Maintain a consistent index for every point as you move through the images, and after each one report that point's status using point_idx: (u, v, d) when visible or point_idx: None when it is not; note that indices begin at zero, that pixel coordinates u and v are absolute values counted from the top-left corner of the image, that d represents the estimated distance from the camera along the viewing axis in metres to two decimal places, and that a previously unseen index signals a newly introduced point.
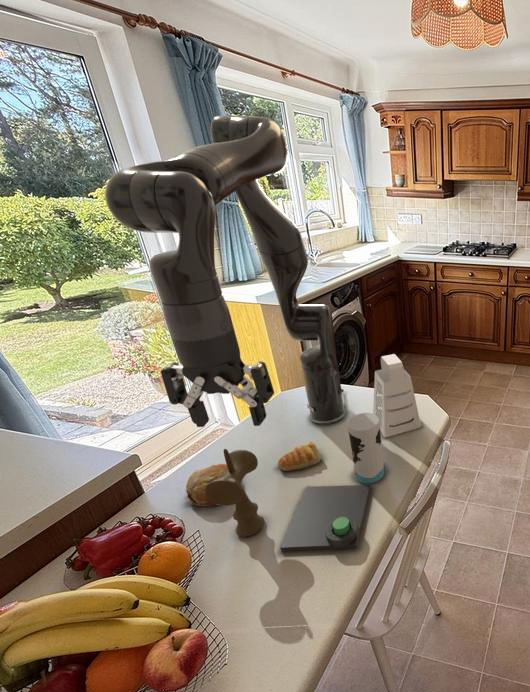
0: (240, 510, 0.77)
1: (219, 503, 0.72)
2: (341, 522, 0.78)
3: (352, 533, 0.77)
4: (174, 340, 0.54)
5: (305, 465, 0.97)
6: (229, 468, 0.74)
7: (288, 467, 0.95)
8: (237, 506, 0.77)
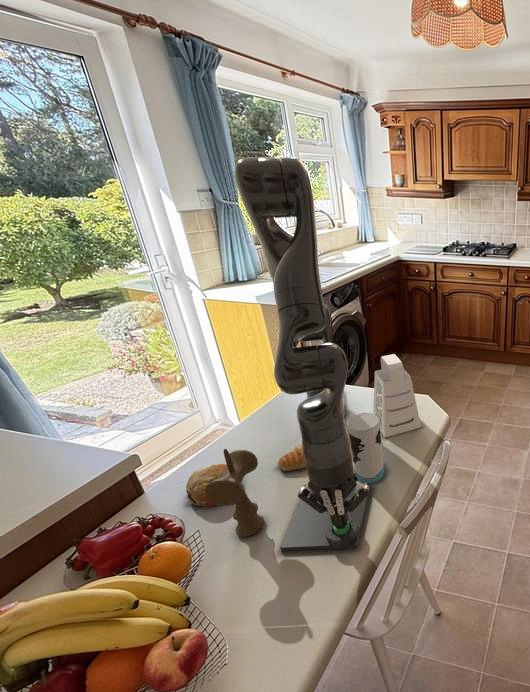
0: (240, 510, 0.77)
1: (219, 503, 0.72)
2: None
3: (352, 533, 0.77)
4: (310, 467, 0.67)
5: (305, 465, 0.97)
6: (229, 468, 0.74)
7: (288, 467, 0.95)
8: (237, 506, 0.77)
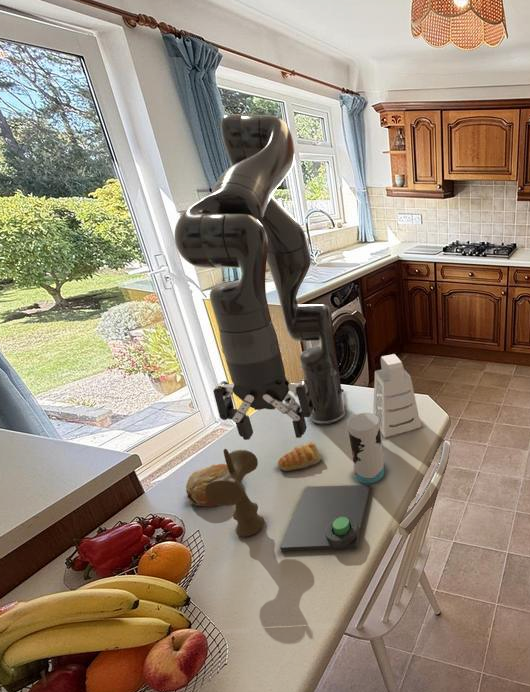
0: (240, 510, 0.77)
1: (219, 503, 0.72)
2: (341, 522, 0.78)
3: (352, 533, 0.77)
4: (230, 363, 0.60)
5: (305, 465, 0.97)
6: (229, 468, 0.74)
7: (288, 467, 0.95)
8: (237, 506, 0.77)
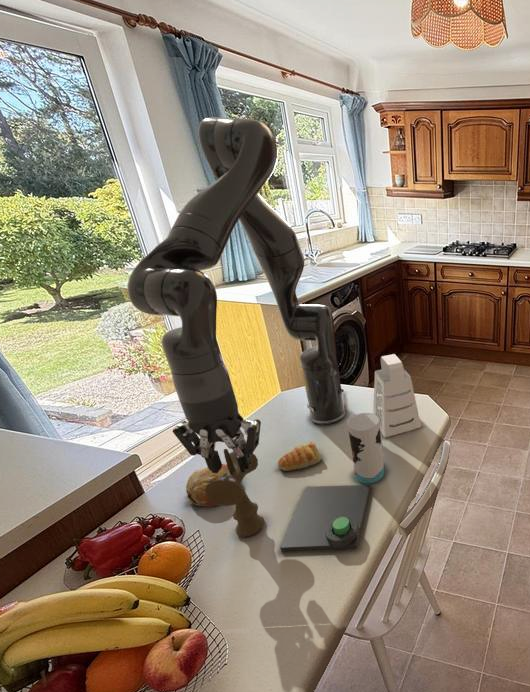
0: (240, 510, 0.77)
1: (219, 503, 0.72)
2: (341, 522, 0.78)
3: (352, 533, 0.77)
4: (182, 402, 0.64)
5: (305, 465, 0.97)
6: (229, 468, 0.74)
7: (288, 467, 0.95)
8: (237, 506, 0.77)
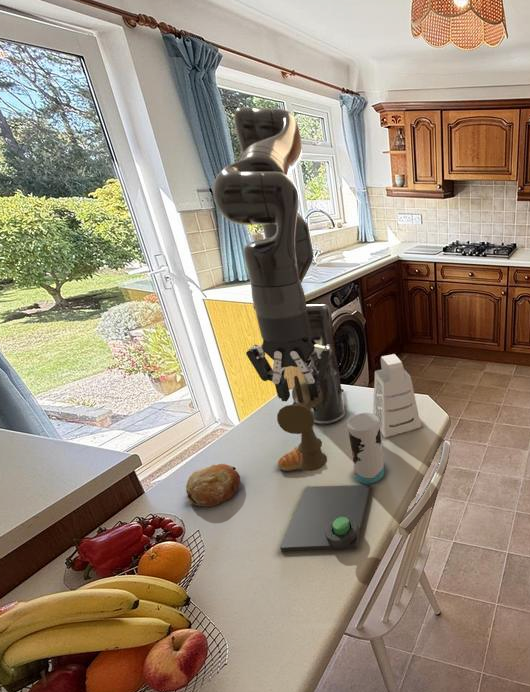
0: (306, 442, 0.76)
1: (290, 430, 0.70)
2: (341, 522, 0.78)
3: (352, 533, 0.77)
4: (260, 318, 0.62)
5: None
6: (298, 397, 0.72)
7: (288, 467, 0.95)
8: (303, 438, 0.76)
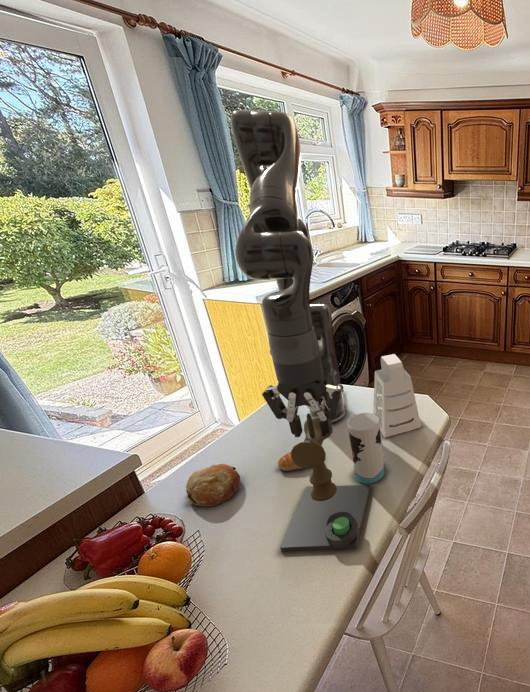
0: (317, 474, 0.80)
1: (303, 465, 0.74)
2: (341, 522, 0.78)
3: (352, 533, 0.77)
4: (277, 364, 0.66)
5: None
6: (310, 433, 0.76)
7: (288, 467, 0.95)
8: (315, 471, 0.80)
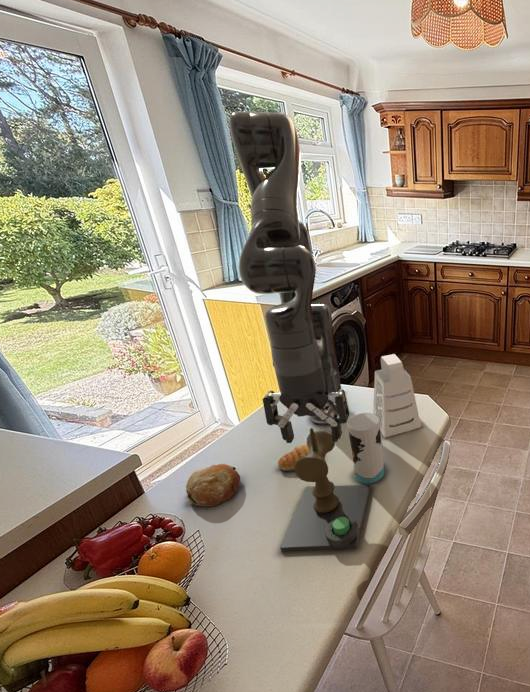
0: (320, 487, 0.81)
1: (306, 479, 0.76)
2: (341, 522, 0.78)
3: (352, 533, 0.77)
4: (279, 375, 0.67)
5: None
6: (313, 447, 0.78)
7: (288, 467, 0.95)
8: (317, 484, 0.81)
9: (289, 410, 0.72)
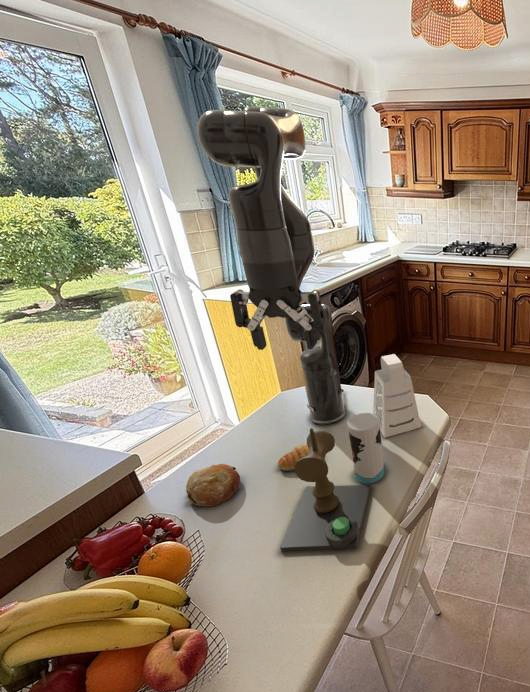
0: (320, 487, 0.81)
1: (306, 479, 0.76)
2: (341, 522, 0.78)
3: (352, 533, 0.77)
4: (246, 263, 0.63)
5: None
6: (313, 447, 0.78)
7: (288, 467, 0.95)
8: (317, 484, 0.81)
9: (259, 309, 0.67)
